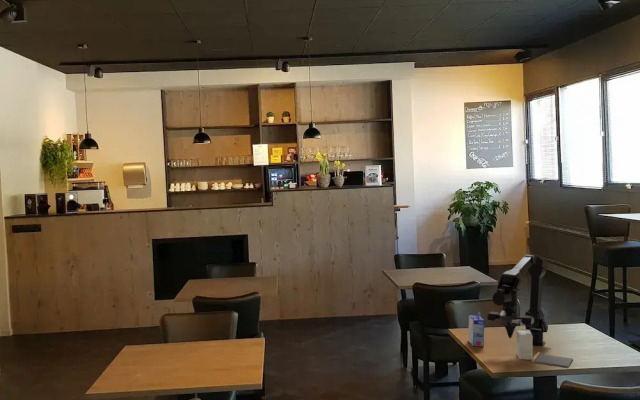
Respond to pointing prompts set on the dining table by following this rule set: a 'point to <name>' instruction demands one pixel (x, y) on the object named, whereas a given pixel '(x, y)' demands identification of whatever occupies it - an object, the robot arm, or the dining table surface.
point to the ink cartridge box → (476, 330)
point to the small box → (525, 345)
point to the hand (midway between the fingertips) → (510, 337)
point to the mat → (552, 360)
